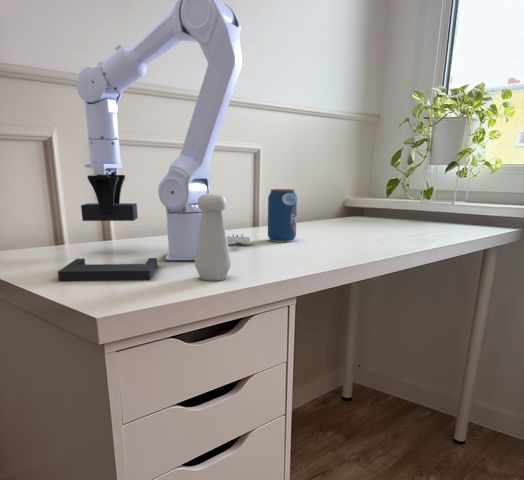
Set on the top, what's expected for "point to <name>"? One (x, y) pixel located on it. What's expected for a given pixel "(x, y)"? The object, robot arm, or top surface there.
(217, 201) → the salt shaker
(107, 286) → the top surface
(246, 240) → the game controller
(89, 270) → the black pad
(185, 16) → the robot arm
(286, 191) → the soda can
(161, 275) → the top surface
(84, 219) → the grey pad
